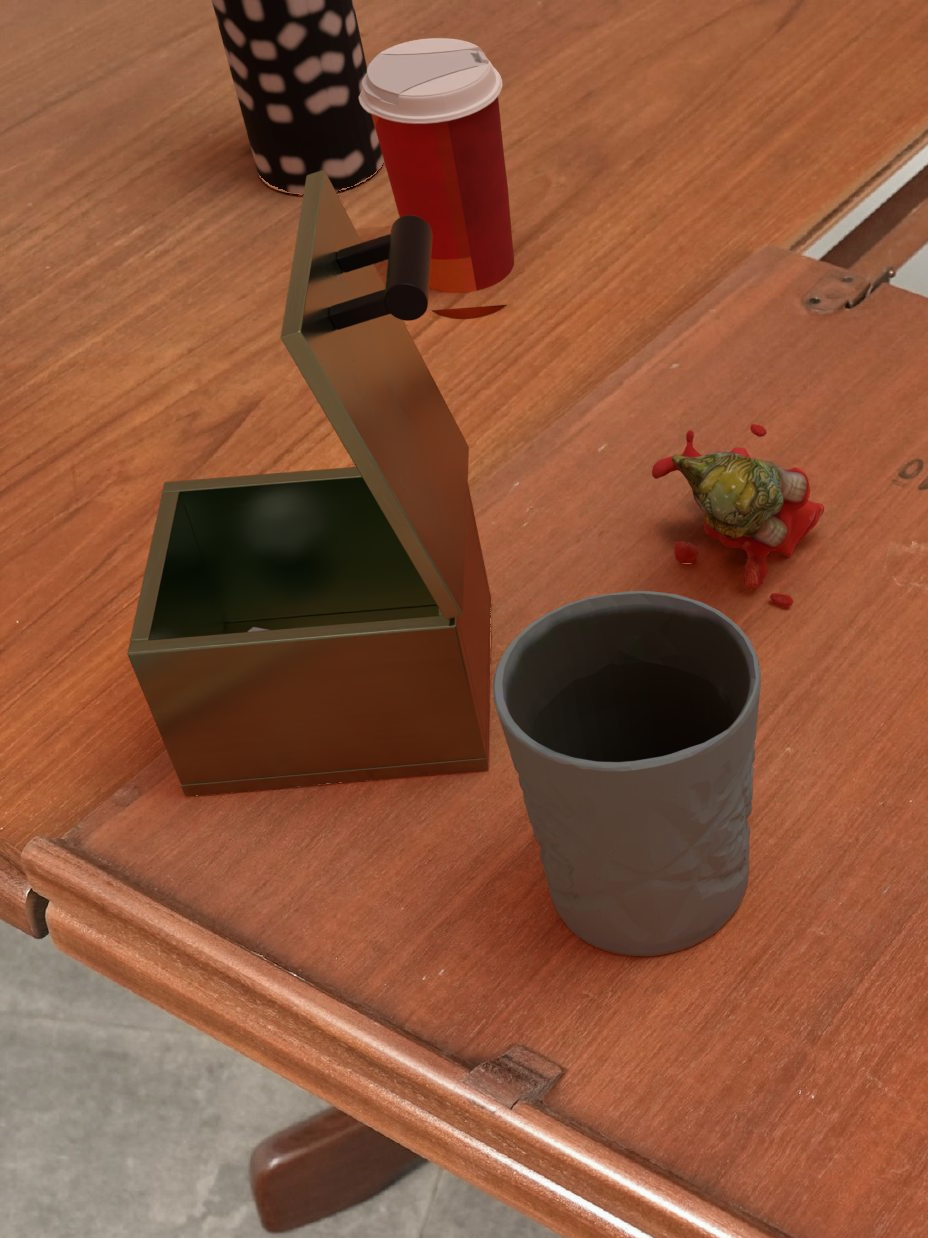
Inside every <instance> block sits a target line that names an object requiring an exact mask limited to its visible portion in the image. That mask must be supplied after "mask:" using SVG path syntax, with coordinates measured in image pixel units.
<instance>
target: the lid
mask: <svg viewBox="0 0 928 1238" xmlns="http://www.w3.org/2000/svg"><path fill="white" fill-rule="evenodd" d="M431 251H432V230H431V228H430V226H429V225H428V223H427V222H426V221H425V220H423V219H422V218H420V217H417V216H414V215H406V216H402V217H398V218H397V219H396V220H395V221H394V222H393V223H392V226H391V228H390V233H388V234H386V235H382V236H379V237H375V238H373V239H370V240H367V241H362V239H361V237H360V235H359V234H358V232H357V230H356V228H355V225H354V224H353V221H352V220H351V218H350V216H349V214H348V213H347V210H346V208H345V207H344V205H343V203H342V201H341V199H340V197H339V195H338V192H336V191H335V189H334V187H333V186H332V184H331V182H330V180H329V178H328V176H327V174H326V172H325V171H324V170H322V171H319V172H316V173H313V174H309V175H307V177H306V183H305V189H304V195H303V196H302V202H301V208H300V215H299V221H298V227H297V233H296V240H295V245H294V251H293V257H292V263H291V271H290V275H289V283H288V288H287V290H288V291H287V294H286V301H285V307H284V313H283V319H282V324H281V325H282V326H281V331H280V340H281V342H282V343H283V345H284V347H285V348H286V350H287V351H288V353H289V355H290V357H291V358H292V360H293V361H294V364H295V365H296V367H297V369H298V371H299V372H300V374H301V375H302V377H303V379H304V380H305V382H306V384H307V386H308V388H309V389H310V391H311V393H312V395H313V396H314V398H315V399H316V400H317V403H318V405H319V406H320V408H321V410H322V412H323V413H324V414H325V417H326V418H327V420H328V422H329V424H330V425H331V427H332V428H333V430H334V431H335V434H336V435H337V437H338V439H339V441H340V443H342V446H343V447H344V449H345V451H346V452H347V454H348V455H349V457H350V459H351V461H352V463H353V464H354V467H357V469H358V471H359V473H360V474H361V476H362V478H363V479H364V481H365V483H366V484H367V486H368V488H369V490H370V491H371V493H372V495H373V496H374V498H375V500H376V501H377V503H378V505H379V507H380V508H381V510H382V512H383V513H384V515H385V517H386V519H387V520H388V522H389V524H390V525H391V527H392V529H393V530H394V532H395V534H396V536H397V537H398V539H399V541H400V542H401V544H402V546H403V547H404V549H405V551H406V553H407V554H408V556H409V558H410V559H411V561H412V563H413V565H414V566H415V568H416V570H417V571H418V573H419V575H420V576H421V578H422V580H423V582H424V583H425V585H426V587H427V588H428V590H429V592H430V593H431V595H432V597H433V599H434V600H435V602H436V604H437V605H438V607H439V609H440V611H441V612H442V614H443V616H444V617H445V619H450V618H453V617H457V616H460V615H462V614H463V595H464V568H465V541H466V514H467V488H468V485H469V460H470V459H469V456H470V446H469V444H468V442H467V440H466V439H465V436H464V434H463V432H462V430H461V429H460V427H459V425H458V423H457V421H456V419H455V417H454V416H453V413H452V412H451V410H450V408H449V406H448V404H447V402H446V400H445V398H444V396H443V395H442V393H441V391H440V389H439V387H438V384H437V383H436V381H435V379H434V377H433V376H432V373H431V371H430V370H429V368H428V365H427V364H426V362H425V360H424V358H423V356H422V354H421V353H420V350H419V349H418V347H417V344H416V343H415V340H414V339H413V336H412V335H411V333H410V331H409V328H407V325H406V324H405V322H409V321H415V320H418V319H420V318H421V317H422V316H424V315H425V313H426V312H427V310H428V307H429V295H430V288H429V280H430V266H431ZM384 261H387V267H386V270H387V271H386V277H385V283H384V281H383V279H382V278H381V275H380V274H379V272H378V270H377V268H376V265H375V264H379V263H382V262H384ZM404 321H405V322H404Z"/></svg>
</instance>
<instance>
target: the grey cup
mask: <svg viewBox="0 0 928 1238" xmlns="http://www.w3.org/2000/svg"><path fill="white" fill-rule="evenodd" d="M492 680H493V681H492V695H493V704H494V707H495V710H496V713H497V716H498V719H499V723H500V725H501V729H502V732H503V735H504V738H505V741H506V745H507V748H508V750H509V754H510V759H511V761H512V764H513V767H514V770H515V771H516V772H517V774H518V778H517V780H518V784H519V787H520V789H521V792H522V795H523V796H522V798H523V802H524V805H525V808H526V812H527V816H528V820H529V823H530V825H531V827H532V833H533V837H534V839H535V842H537V843H539V847H540V848H539V849H540V850H539V857H540V861H541V865H542V868H543V872H544V876H545V881H546V883H547V888H548V892H549V895H550V898H551V901H552V904H553V906H554V909H555V910H556V913H557V914H558V916H559V917H560V918H561V920H562V921H563V923H564V924H565V926H566V927H567V928H568V929H569V930H570V931H571V932H572V933H573V934H574V935H575V936H576V937H577V938H578V939H579V938H580V940H582V941H584V942H586V943H587V944H589V945H590V946H593V947H594V948H596V949H599V950H602V951H605V952H609V953H612V954H616V955H622V956H627V957H657V956H662V955H668V954H672V953H675V952H681V951H682V950H685V949H688V948H691V947H693V946H695V945H698V944H699V943H701V942H703V941H706V939H709V938H710V937H711V936H713V935H714V934H716V933H717V932H718V931H720V929H722V928H723V927H724V926H725V925H726V924H727V922H729V920H730V919H731V918H732V917H733V915H735V913H736V912H737V909H738V908H739V906H740V904H741V902H742V901H743V897H744V896H745V893H746V890H747V886H748V882H749V881H748V880H749V872H750V852H751V851H750V849H751V847H750V836H751V835H750V834H751V827H750V824H749V822H748V819H749V817H750V816H751V814H752V812H753V796H754V795H753V794H754V784H753V783H754V769H755V768H754V767H755V766H754V765H753V764H754V762H755V759H756V758H755V756H756V748H755V746H756V745H755V744H756V739H757V730H758V728H757V727H758V718H759V707H760V696H761V685H762V671H761V665H760V660H759V657H758V654H757V651H756V650H755V648H754V645H753V643H752V641H751V640H750V638H749V637H748V636H747V634H746V633H745V632H744V631H743V629H742V628H741V627H740V626H739V625H738V624H736V623H735V622H734V621H733V620H732V619H731V618H729V617H728V616H727V615H725V613H723V612H722V611H720V610H718V609H716V608H714V607H713V606H711V605H708V604H706V603H704V602H702V601H699V600H696V599H693V598H690V597H686V596H683V595H679V594H676V593H668V592H661V591H653V590H628V591H620V592H619V591H618V592H613V593H605V594H597V595H592V596H589V597H585V598H582V599H579V600H578V599H577V600H576V601H571V602H567V603H566V604H564V605H562V606H559V607H557V608H555V609H553V610H551V611H548V612H546V613H545V614H543V615H542V616H540V617H538V618H537V619H536V620H534V621H532V622H531V623H530V624H529V625H528V626H526V627H525V628H524V629H522V630H521V631H520V632H519V633H518V635H516V636H515V637H514V638H513V640H512V641H511V642H510V643H509V644H508V646H507V647H506V648H505V650H504V651H503V653H502V655H501V657H500V659H499V661H498V663H497V666H496V668H495V672H494V676H493V679H492Z"/></svg>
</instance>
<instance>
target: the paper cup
mask: <svg viewBox="0 0 928 1238" xmlns="http://www.w3.org/2000/svg"><path fill="white" fill-rule="evenodd" d="M362 86H363V88H362V91H361V93H360V95H359V101H360V104H361V106H362V107H363V108H364V109H365V110H366V111H367V112H368V113H371V115H372V118H373V122H374V126H375V129H376V133H377V136H378V140H379V144H380V147H381V151H382V155H383V158H384V166H385V169H386V174H387V177H388V180H389V183H390V188H391V191H392V195H393V198H394V203H395V206H396V209H397V213H398V218H400V217H402V216H406V215H414V216H417V217H420V218H422V219H423V220H425V221H426V222H427V223H428V225H429V226H430V228H431V230H432V251H431V266H430V280H429V289H431V290H433V291H437V292H442V293H447V294H448V293H450V294H465V293H473V292H477V291H481V290H485V289H487V288H491V287H493V286H495V285H497V284H498V283H500V282H502V281H503V280H505V279H506V278H507V277H508V276H509V275H510V274H511V273H512V271H513V269H514V266H515V255H514V243H513V233H512V222H511V209H510V196H509V195H510V194H509V184H508V178H507V176H508V175H507V169H506V161H505V154H504V153H505V149H504V142H503V141H504V140H503V129H502V123H501V122H502V121H501V120H502V119H501V112H500V111H501V110H500V102H499V96H500V94H501V92H502V89H503V79H502V76H501V74H500V73H499V72H498V70H497V68H495V67H494V66H493V63H492V62H491V61H490V60H489V59H488V57H487V55H486V54H485V52H483V50H482V48H481V47H480V46H478V45H477V44H474V43H472V42H469V41H466V40H463V39H456V38H448V37H431V38H430V37H429V38H419V39H414V40H409V41H405V42H402V43H398V44H395V45H393V46H390V47H388V48H386V49H384V50H382V51H381V52H379V53H378V54H377V55H376V56H375V57H373V59H372V60H371V61H370V62H369V63H368V66H367V74H366V75H365V76H364V78H363V80H362ZM506 307H507V304H498V305H497V304H496V305H484V306H472V307H471V306H470V307H457V308H444V309H443V308H442V309H432V310H430V311H431V312H433V313H434V314H436V315H438V316H440V317H443V318H448V319H454V320H470V319H478V318H483V317H486V316H489V315H492V314H495V313H497V312H500V311H501V310H502V309H504V308H506Z"/></svg>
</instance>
